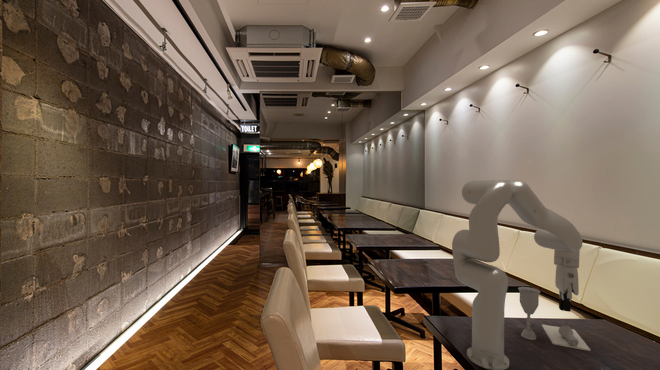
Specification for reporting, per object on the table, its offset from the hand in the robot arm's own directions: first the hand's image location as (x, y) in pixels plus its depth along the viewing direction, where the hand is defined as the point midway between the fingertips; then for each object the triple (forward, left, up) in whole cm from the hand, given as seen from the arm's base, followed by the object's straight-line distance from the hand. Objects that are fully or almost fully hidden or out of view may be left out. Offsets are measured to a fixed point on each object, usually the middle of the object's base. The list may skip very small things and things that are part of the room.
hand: (564, 310), depth 113 cm
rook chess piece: (+2, -1, -9) cm, 9 cm away
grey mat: (+3, -1, -11) cm, 12 cm away
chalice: (-2, +12, -12) cm, 17 cm away
